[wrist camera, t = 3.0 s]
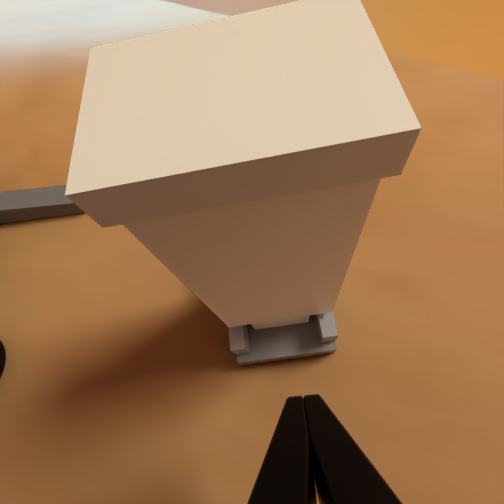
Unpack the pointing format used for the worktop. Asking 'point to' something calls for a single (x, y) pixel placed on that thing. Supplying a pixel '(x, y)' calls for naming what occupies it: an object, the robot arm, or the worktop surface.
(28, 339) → the worktop surface
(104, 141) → the tall lidded box
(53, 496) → the worktop surface
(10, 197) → the door handle
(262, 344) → the switch base
